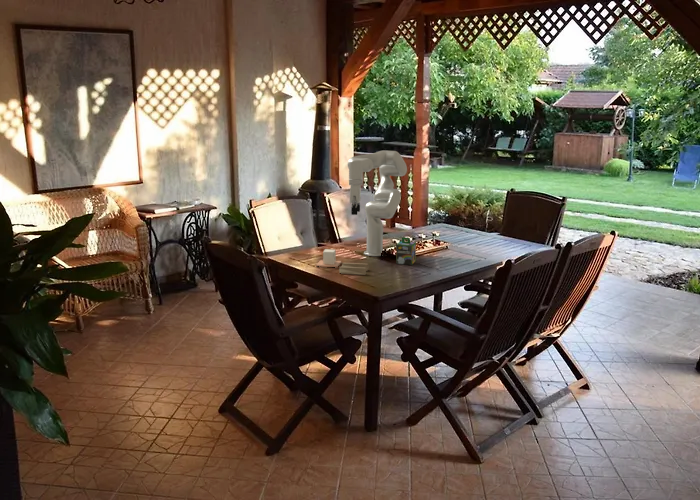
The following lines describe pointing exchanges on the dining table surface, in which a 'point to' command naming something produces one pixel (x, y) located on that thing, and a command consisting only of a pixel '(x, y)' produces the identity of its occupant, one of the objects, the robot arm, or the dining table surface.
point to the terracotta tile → (328, 264)
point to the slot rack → (353, 268)
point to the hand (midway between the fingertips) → (355, 213)
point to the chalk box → (406, 252)
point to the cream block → (329, 256)
